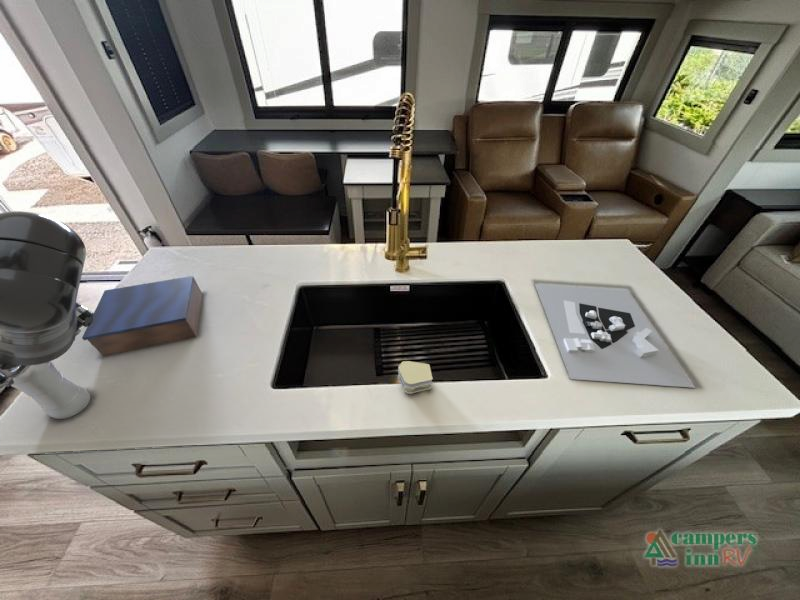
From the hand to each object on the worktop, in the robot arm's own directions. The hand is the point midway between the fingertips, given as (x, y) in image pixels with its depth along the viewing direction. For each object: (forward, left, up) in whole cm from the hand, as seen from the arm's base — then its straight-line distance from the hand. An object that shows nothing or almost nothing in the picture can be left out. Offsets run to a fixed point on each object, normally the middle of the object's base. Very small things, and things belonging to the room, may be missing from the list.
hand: (36, 358), depth 49 cm
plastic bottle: (-9, +7, -23) cm, 26 cm away
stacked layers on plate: (+60, -10, -23) cm, 64 cm away
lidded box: (+3, +28, -22) cm, 36 cm away
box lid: (+2, +28, -16) cm, 32 cm away
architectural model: (+115, -9, -23) cm, 118 cm away
